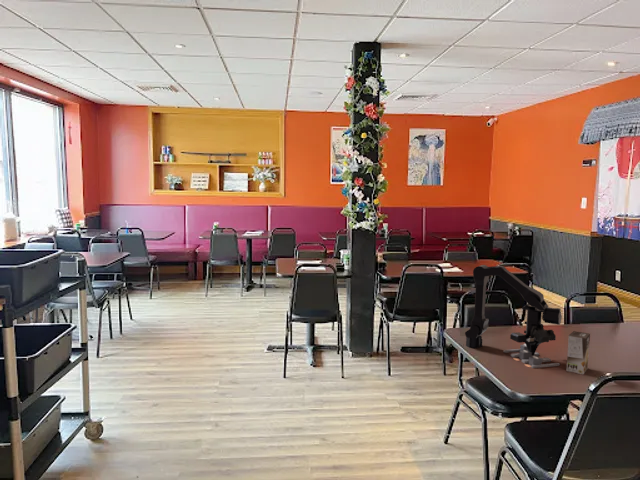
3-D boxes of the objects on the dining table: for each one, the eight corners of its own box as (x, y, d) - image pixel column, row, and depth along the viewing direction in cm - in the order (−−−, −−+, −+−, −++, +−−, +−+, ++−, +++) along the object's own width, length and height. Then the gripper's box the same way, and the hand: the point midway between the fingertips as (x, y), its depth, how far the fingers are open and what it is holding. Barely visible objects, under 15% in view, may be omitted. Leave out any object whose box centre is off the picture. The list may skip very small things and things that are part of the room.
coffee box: (583, 377, 184) (586, 338, 183) (565, 373, 188) (568, 335, 187) (587, 371, 191) (590, 333, 190) (570, 367, 195) (573, 330, 194)
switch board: (529, 371, 190) (529, 366, 190) (500, 354, 210) (500, 350, 210) (562, 368, 194) (563, 363, 194) (531, 352, 213) (531, 348, 213)
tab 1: (524, 353, 208) (524, 345, 208) (520, 351, 211) (520, 343, 210) (531, 353, 209) (532, 345, 209) (527, 351, 212) (528, 343, 211)
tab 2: (523, 360, 199) (523, 352, 199) (519, 358, 202) (519, 350, 202) (531, 359, 200) (531, 351, 200) (527, 357, 203) (527, 349, 203)
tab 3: (533, 366, 192) (533, 358, 192) (528, 364, 195) (529, 356, 194) (541, 366, 193) (541, 357, 192) (536, 363, 196) (537, 355, 195)
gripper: (527, 326, 191) (525, 363, 192) (566, 324, 195) (563, 360, 196) (510, 319, 201) (508, 354, 203) (547, 317, 205) (545, 351, 207)
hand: (531, 355), depth 202 cm, fingers closed
